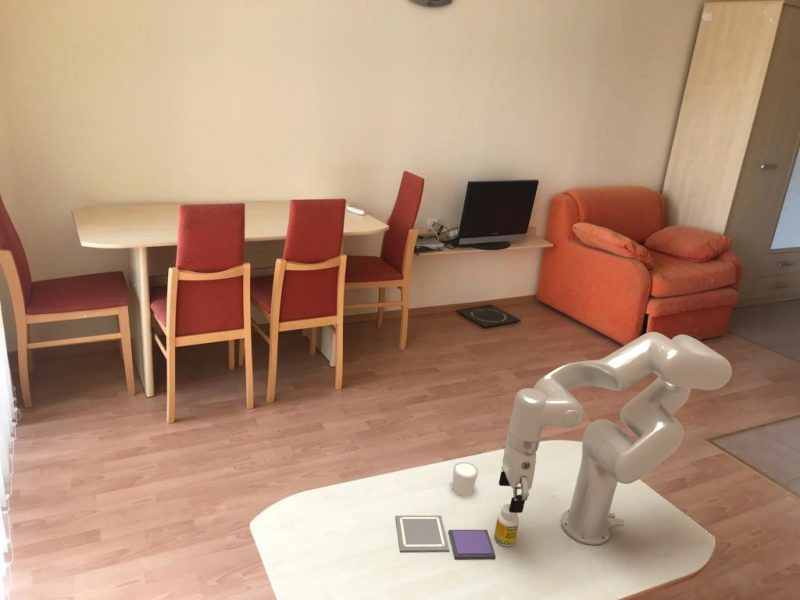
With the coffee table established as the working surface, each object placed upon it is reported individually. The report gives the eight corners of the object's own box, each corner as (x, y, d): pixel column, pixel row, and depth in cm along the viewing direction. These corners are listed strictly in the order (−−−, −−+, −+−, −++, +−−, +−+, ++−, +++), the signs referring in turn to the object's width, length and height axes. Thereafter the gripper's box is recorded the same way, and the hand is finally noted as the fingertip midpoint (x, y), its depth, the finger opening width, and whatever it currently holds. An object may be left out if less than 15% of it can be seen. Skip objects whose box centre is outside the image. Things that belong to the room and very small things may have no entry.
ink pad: (486, 532, 161) (487, 528, 160) (495, 559, 153) (495, 555, 152) (448, 532, 160) (448, 528, 159) (454, 559, 151) (455, 555, 151)
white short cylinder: (458, 500, 171) (462, 479, 169) (445, 485, 177) (448, 464, 174) (479, 494, 174) (483, 473, 172) (466, 479, 180) (469, 459, 177)
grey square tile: (440, 517, 165) (441, 514, 164) (448, 551, 154) (449, 548, 153) (395, 517, 163) (395, 514, 163) (400, 552, 152) (400, 549, 152)
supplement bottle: (505, 529, 163) (510, 499, 159) (519, 542, 159) (525, 512, 155) (489, 536, 160) (494, 506, 156) (503, 550, 156) (509, 519, 152)
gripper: (550, 462, 140) (535, 523, 147) (527, 419, 156) (515, 476, 163) (518, 461, 139) (504, 522, 146) (498, 418, 155) (486, 475, 161)
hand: (510, 498), depth 154 cm, fingers open, 9 cm apart
